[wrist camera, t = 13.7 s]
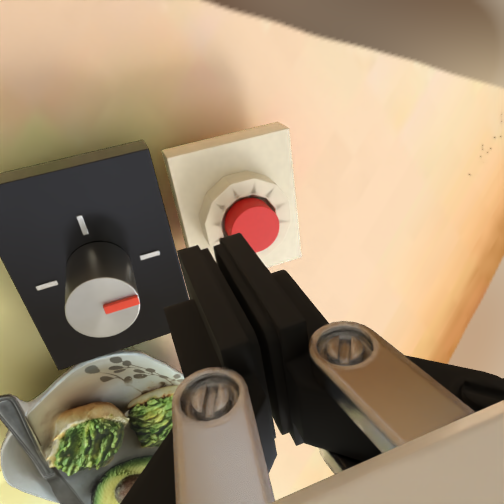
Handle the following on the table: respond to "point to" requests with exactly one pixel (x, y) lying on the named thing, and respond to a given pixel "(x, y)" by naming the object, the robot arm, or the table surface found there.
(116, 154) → the hob panel
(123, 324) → the stove knob
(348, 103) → the table surface
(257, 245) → the igniter button
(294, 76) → the table surface
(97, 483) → the salad plate
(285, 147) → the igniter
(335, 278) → the table surface
